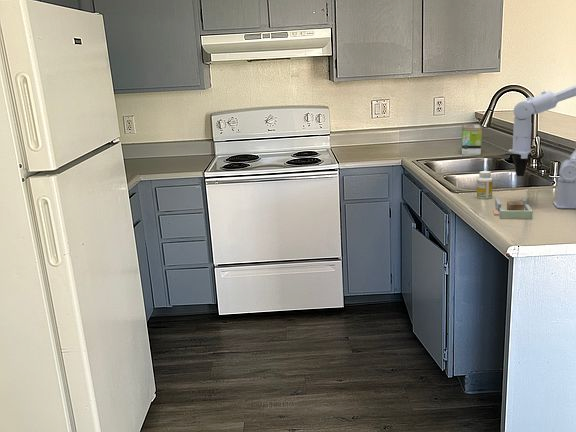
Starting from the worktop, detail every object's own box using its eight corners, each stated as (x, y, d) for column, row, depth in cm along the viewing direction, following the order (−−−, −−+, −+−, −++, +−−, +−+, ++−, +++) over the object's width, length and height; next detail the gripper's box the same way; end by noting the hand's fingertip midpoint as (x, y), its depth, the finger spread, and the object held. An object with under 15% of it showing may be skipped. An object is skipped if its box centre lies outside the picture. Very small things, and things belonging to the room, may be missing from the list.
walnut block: (521, 214, 185) (521, 201, 184) (523, 218, 181) (524, 204, 180) (506, 214, 186) (507, 201, 185) (508, 218, 182) (509, 204, 181)
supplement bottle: (488, 195, 212) (489, 170, 209) (494, 198, 207) (495, 172, 204) (474, 196, 212) (475, 170, 209) (479, 199, 207) (480, 173, 204)
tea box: (481, 155, 297) (482, 127, 293) (461, 155, 299) (462, 127, 296) (480, 150, 310) (481, 123, 307) (461, 150, 313) (461, 124, 309)
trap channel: (528, 205, 195) (528, 198, 195) (537, 219, 179) (537, 211, 178) (490, 204, 199) (490, 197, 198) (495, 218, 182) (495, 211, 181)
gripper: (506, 134, 200) (505, 171, 204) (512, 140, 187) (510, 180, 190) (528, 133, 198) (525, 171, 202) (535, 139, 185) (533, 179, 188)
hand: (519, 175), depth 196 cm, fingers closed
